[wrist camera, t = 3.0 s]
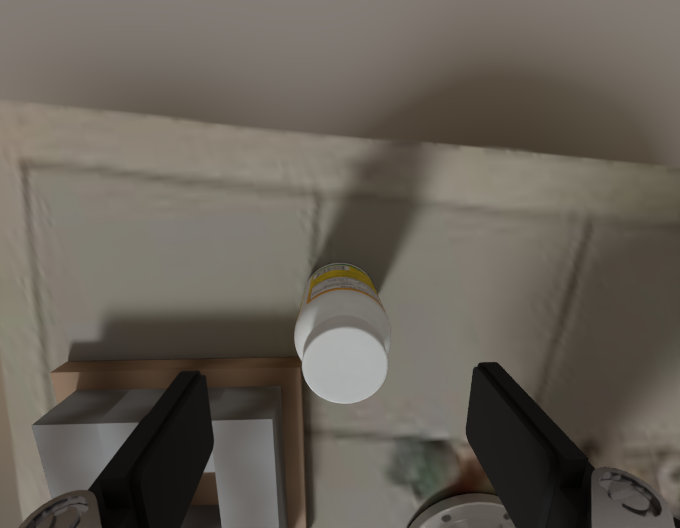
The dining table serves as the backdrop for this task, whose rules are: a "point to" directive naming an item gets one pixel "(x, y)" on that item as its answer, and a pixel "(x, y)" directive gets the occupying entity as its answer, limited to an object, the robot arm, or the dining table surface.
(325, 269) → the supplement bottle
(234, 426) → the holder
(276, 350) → the dining table surface
